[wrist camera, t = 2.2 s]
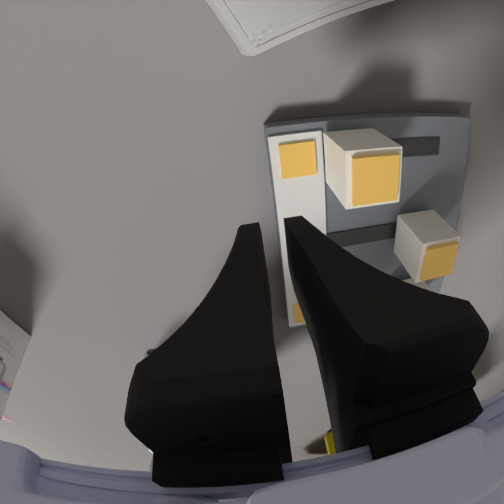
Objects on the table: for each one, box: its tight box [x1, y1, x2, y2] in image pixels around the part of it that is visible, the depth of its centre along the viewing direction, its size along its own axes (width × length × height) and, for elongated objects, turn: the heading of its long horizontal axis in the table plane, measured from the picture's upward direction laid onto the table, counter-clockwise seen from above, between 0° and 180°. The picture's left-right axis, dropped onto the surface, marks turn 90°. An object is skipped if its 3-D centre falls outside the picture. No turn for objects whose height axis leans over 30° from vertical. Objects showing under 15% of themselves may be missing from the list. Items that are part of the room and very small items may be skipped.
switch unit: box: [264, 112, 470, 329], centre depth 21 cm, size 14×16×2 cm
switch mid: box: [393, 210, 461, 283], centre depth 19 cm, size 3×3×4 cm
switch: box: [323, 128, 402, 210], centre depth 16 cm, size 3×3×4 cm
